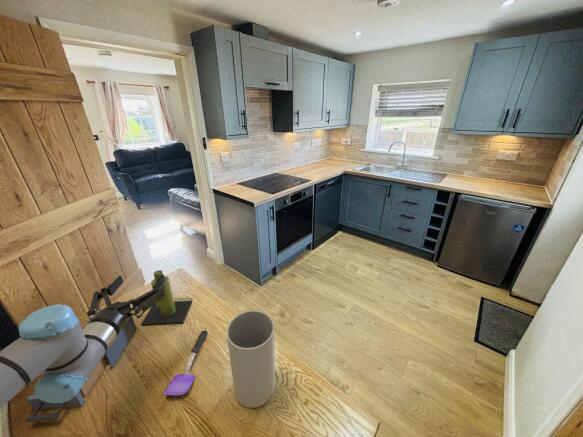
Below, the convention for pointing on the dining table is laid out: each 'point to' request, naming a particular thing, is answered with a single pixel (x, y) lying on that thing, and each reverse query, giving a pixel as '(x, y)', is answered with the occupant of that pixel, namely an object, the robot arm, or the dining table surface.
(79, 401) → the drawer
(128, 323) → the cabinet
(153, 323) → the mat
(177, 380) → the spatula
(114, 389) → the dining table surface
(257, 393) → the cylinder vase
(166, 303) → the oil bottle
